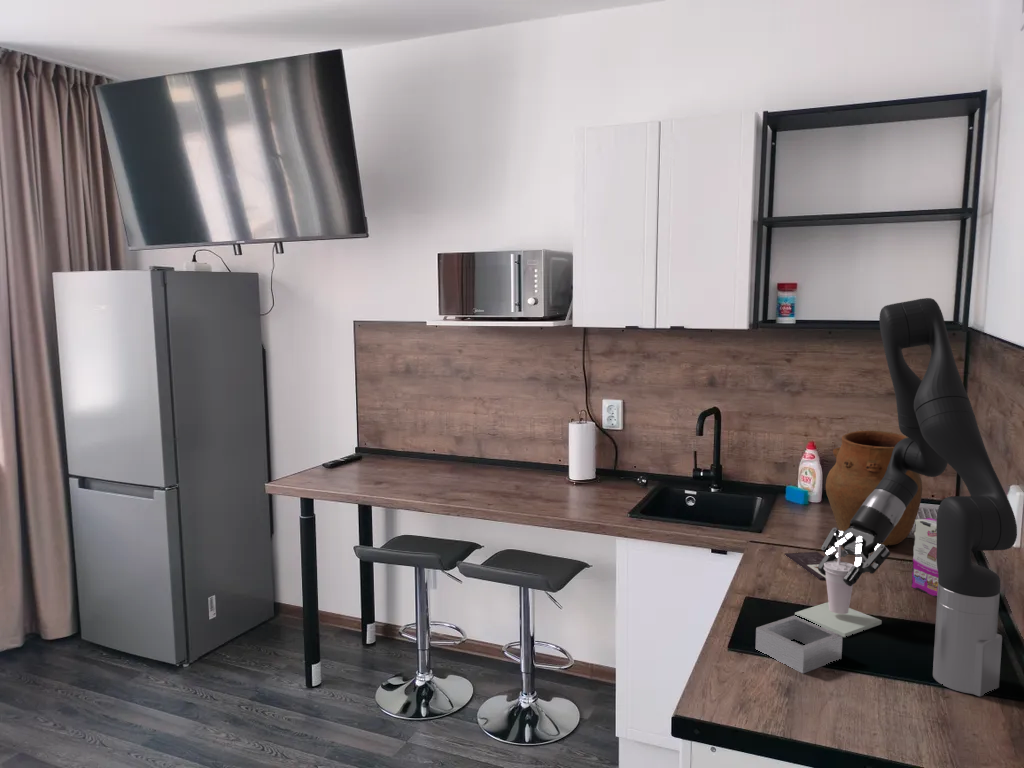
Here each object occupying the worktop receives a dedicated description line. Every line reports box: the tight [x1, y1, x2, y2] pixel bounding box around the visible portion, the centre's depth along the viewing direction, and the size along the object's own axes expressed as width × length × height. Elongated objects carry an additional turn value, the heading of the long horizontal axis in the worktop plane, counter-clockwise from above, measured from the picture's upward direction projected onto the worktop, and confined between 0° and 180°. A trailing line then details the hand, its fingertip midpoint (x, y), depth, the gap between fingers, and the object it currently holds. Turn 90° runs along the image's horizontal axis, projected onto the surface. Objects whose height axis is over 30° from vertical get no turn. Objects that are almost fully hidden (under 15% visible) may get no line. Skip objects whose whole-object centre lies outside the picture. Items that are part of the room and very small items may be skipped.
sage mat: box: [794, 601, 882, 638], centre depth 161 cm, size 12×12×1 cm
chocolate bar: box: [784, 551, 826, 581], centre depth 193 cm, size 9×1×18 cm
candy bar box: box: [911, 517, 938, 598], centre depth 173 cm, size 11×5×16 cm, turn 21°
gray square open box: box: [755, 615, 843, 674], centre depth 145 cm, size 11×11×4 cm
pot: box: [825, 430, 923, 547], centre depth 211 cm, size 24×24×30 cm
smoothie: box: [824, 544, 855, 614], centre depth 160 cm, size 6×6×14 cm
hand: (833, 577), depth 159 cm, fingers closed on smoothie, 6 cm apart
